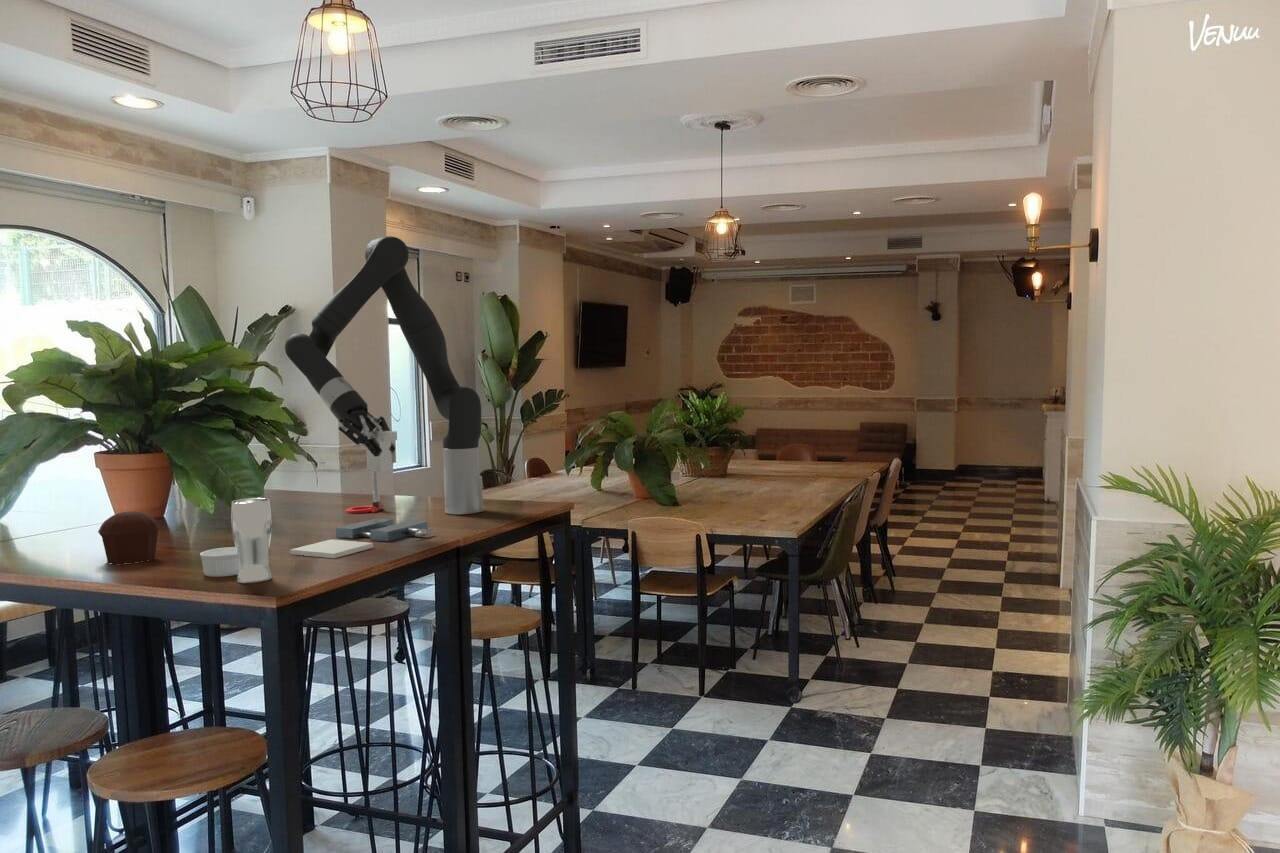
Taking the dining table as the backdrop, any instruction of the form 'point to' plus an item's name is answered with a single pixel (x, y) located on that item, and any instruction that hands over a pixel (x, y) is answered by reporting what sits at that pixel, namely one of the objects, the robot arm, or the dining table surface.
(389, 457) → the glass mug
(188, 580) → the dining table surface
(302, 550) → the pad
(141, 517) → the muffin
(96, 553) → the dining table surface
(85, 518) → the dining table surface
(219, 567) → the ramekin
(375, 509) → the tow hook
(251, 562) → the beer glass
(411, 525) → the vise
